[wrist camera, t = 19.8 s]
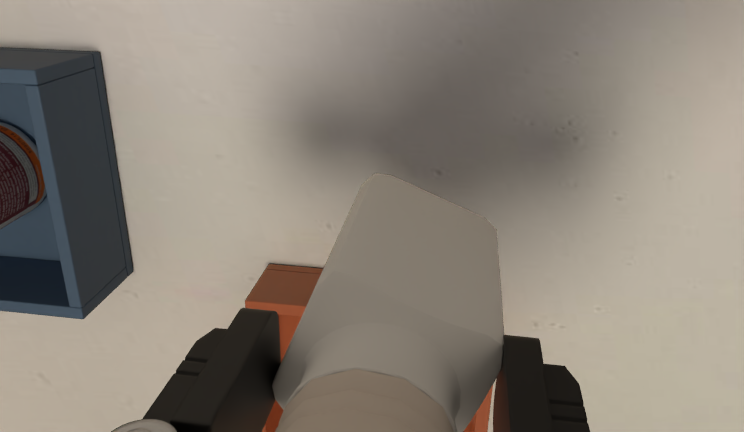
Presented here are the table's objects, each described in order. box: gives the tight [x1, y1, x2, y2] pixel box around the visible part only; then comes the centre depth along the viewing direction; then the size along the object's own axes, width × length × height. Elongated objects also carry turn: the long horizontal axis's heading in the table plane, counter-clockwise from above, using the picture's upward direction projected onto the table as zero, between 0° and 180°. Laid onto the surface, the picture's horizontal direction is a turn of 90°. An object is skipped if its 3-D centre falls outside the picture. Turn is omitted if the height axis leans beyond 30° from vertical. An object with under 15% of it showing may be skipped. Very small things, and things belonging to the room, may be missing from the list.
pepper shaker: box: [272, 173, 504, 432], centre depth 14 cm, size 4×4×10 cm
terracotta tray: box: [245, 264, 493, 432], centre depth 31 cm, size 11×11×4 cm
